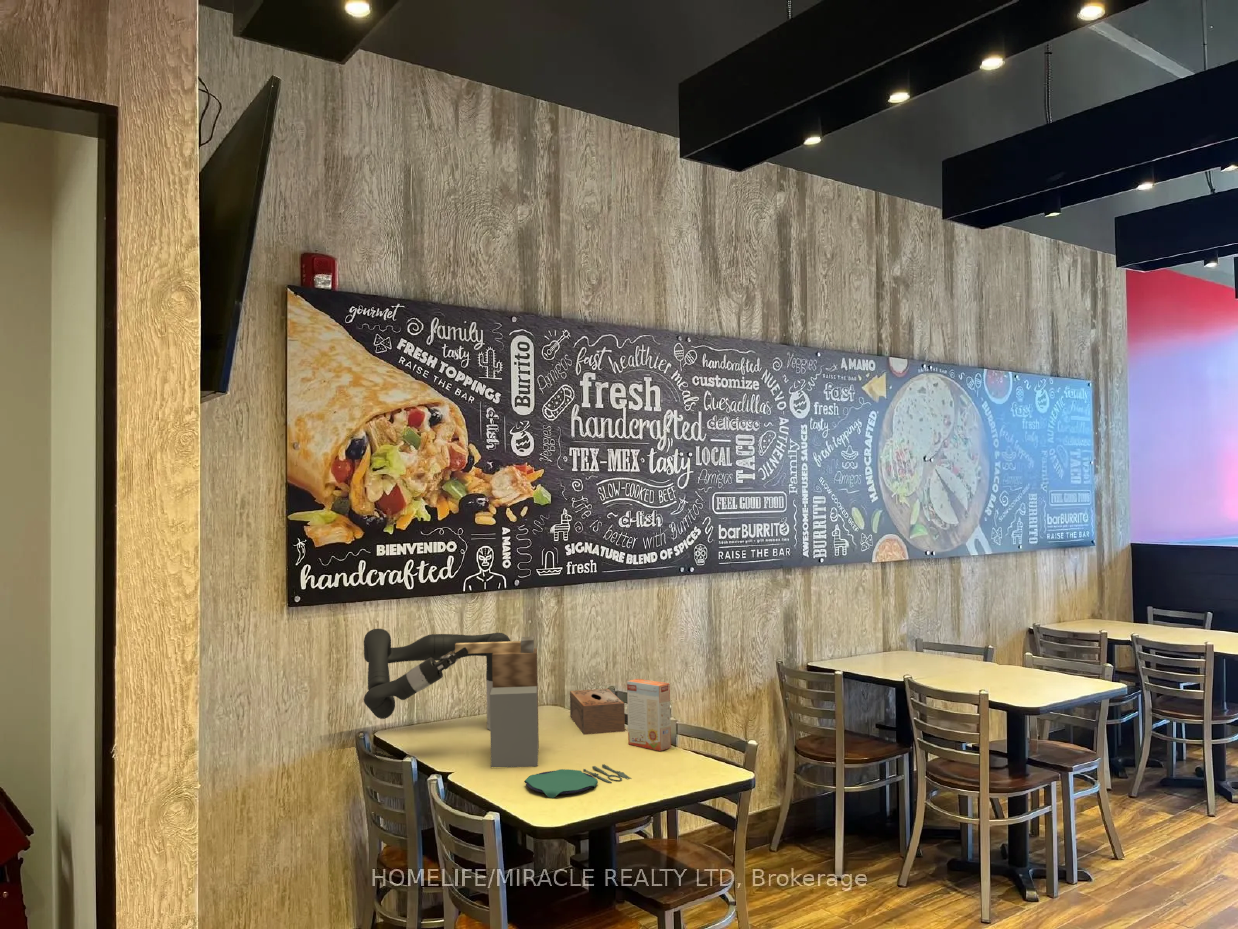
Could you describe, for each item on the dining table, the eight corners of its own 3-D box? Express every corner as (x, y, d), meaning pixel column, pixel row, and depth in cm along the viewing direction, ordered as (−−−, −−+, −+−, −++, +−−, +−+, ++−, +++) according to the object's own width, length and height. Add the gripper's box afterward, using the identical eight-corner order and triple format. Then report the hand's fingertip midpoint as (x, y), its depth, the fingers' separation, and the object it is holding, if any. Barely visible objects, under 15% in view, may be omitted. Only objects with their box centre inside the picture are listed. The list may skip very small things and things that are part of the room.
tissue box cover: (624, 732, 312) (624, 703, 312) (584, 735, 308) (583, 706, 309) (608, 715, 337) (607, 688, 337) (570, 718, 333) (570, 691, 334)
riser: (493, 757, 283) (492, 654, 284) (495, 748, 293) (494, 649, 294) (538, 755, 284) (536, 653, 285) (538, 746, 294) (537, 648, 295)
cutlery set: (513, 784, 255) (513, 776, 255) (602, 767, 272) (602, 759, 272) (547, 804, 239) (547, 795, 239) (639, 785, 255) (639, 776, 255)
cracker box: (672, 748, 289) (670, 682, 290) (660, 752, 285) (658, 685, 286) (639, 741, 299) (638, 677, 300) (627, 744, 294) (626, 680, 295)
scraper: (454, 655, 284) (454, 642, 285) (456, 651, 292) (456, 638, 293) (533, 652, 286) (533, 640, 286) (534, 648, 294) (533, 636, 294)
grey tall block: (490, 768, 271) (489, 694, 272) (493, 758, 281) (492, 687, 282) (537, 766, 272) (536, 693, 273) (538, 757, 282) (536, 686, 283)
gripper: (433, 680, 294) (476, 654, 296) (427, 689, 280) (472, 661, 281) (421, 661, 294) (464, 634, 296) (414, 669, 280) (459, 641, 281)
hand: (468, 647), depth 288 cm, fingers open, 8 cm apart
